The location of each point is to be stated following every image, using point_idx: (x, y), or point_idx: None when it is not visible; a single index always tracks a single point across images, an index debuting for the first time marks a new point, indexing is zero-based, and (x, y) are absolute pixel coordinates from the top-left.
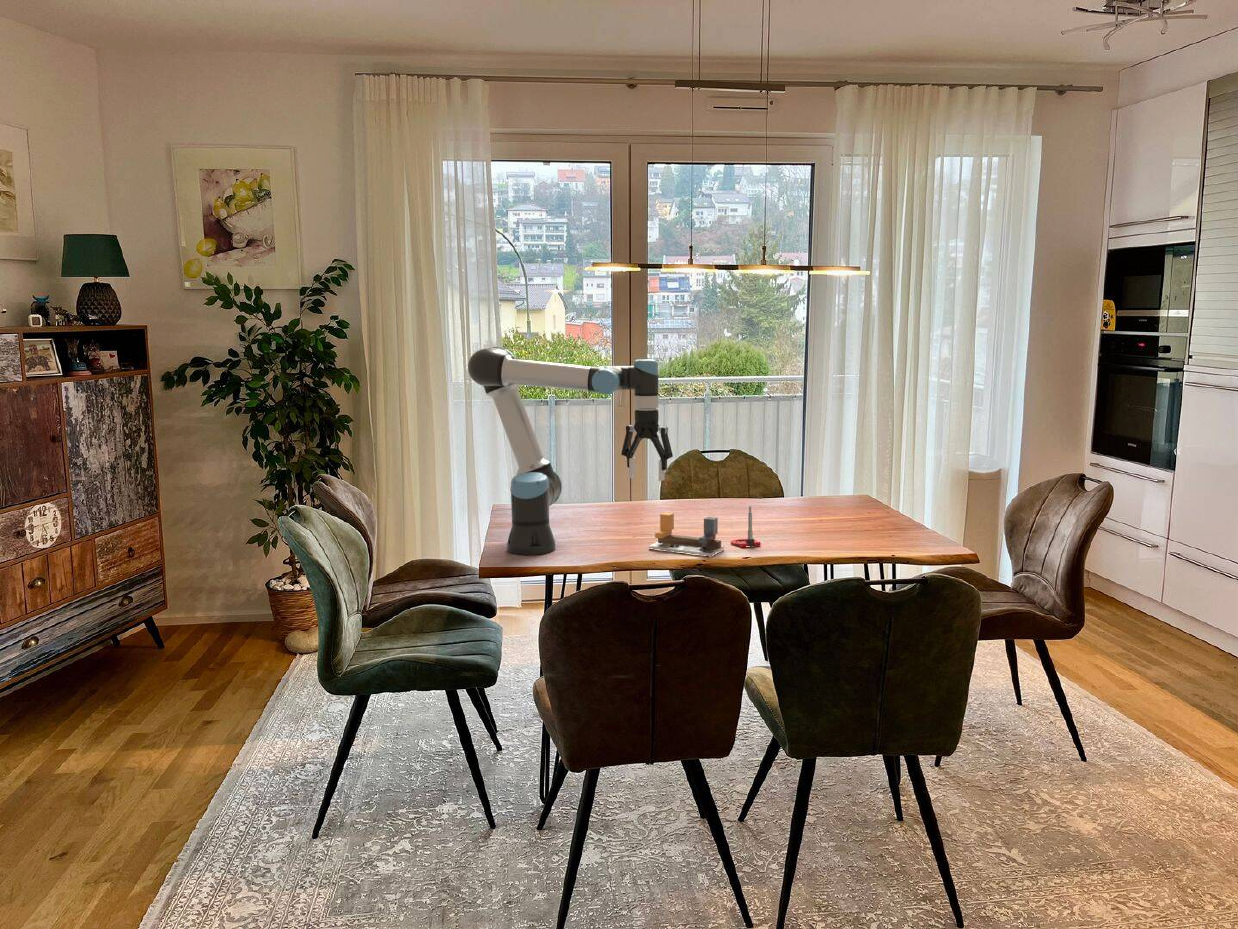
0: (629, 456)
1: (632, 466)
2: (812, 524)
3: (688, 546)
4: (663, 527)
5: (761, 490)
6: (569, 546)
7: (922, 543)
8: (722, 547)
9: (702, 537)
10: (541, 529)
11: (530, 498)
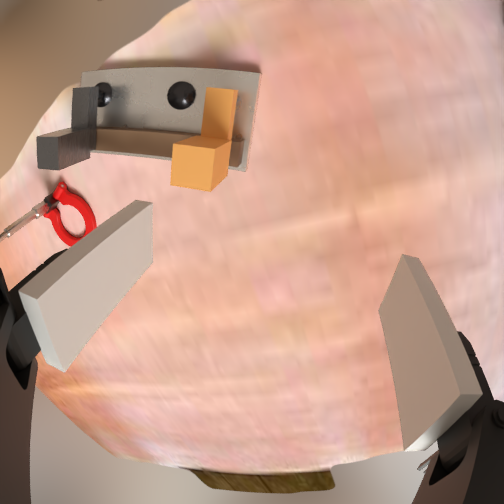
0: (484, 417)
1: (421, 337)
2: None
3: (145, 111)
4: (216, 139)
5: (218, 486)
6: (492, 79)
7: None
8: None
9: (83, 94)
10: None
11: None
